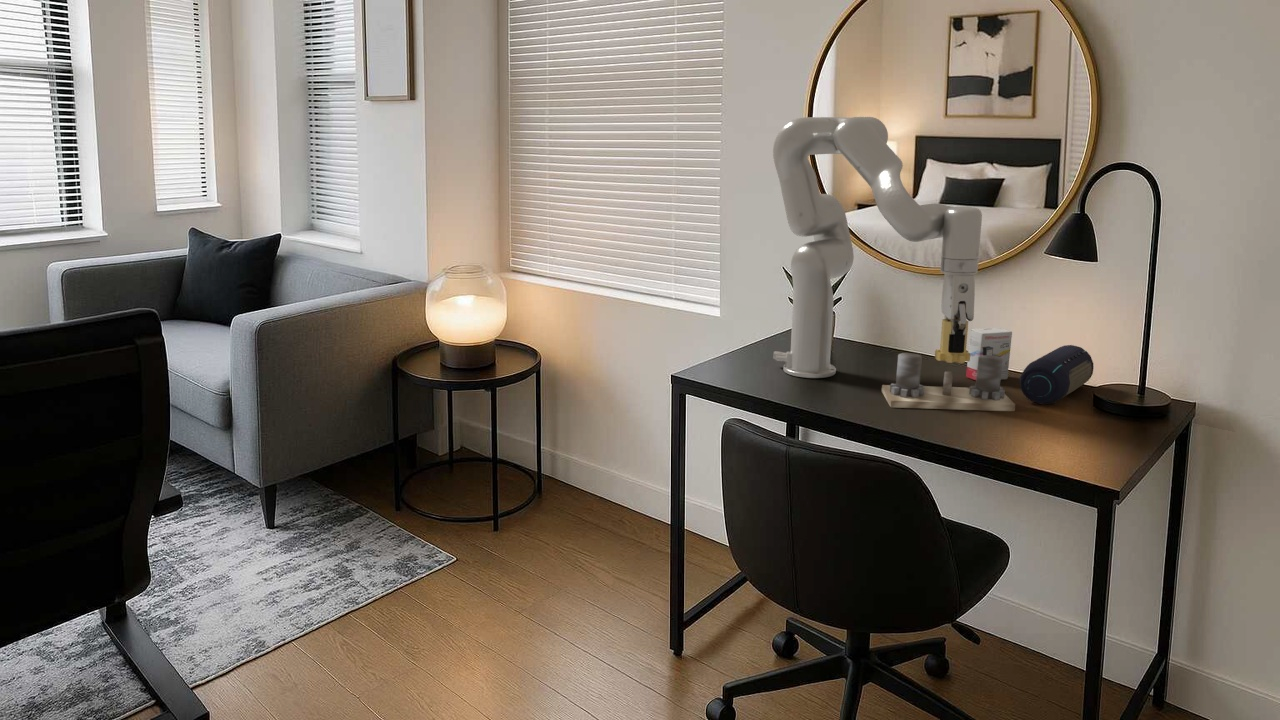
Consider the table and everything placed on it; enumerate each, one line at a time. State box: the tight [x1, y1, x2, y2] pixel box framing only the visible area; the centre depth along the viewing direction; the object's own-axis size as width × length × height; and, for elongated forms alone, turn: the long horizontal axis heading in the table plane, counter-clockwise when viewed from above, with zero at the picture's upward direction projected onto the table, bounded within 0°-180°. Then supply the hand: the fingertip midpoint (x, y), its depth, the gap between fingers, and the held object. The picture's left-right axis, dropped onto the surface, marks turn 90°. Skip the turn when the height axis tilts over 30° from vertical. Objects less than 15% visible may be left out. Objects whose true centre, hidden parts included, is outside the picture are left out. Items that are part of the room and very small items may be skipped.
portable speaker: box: [1019, 344, 1094, 405], centre depth 218 cm, size 25×10×10 cm, turn 139°
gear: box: [934, 318, 971, 364], centre depth 210 cm, size 7×7×8 cm
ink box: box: [965, 327, 1013, 381], centre depth 230 cm, size 9×5×12 cm, turn 107°
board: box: [881, 352, 1016, 412], centre depth 212 cm, size 26×12×10 cm, turn 85°
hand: (952, 348), depth 210 cm, fingers closed on gear, 5 cm apart
